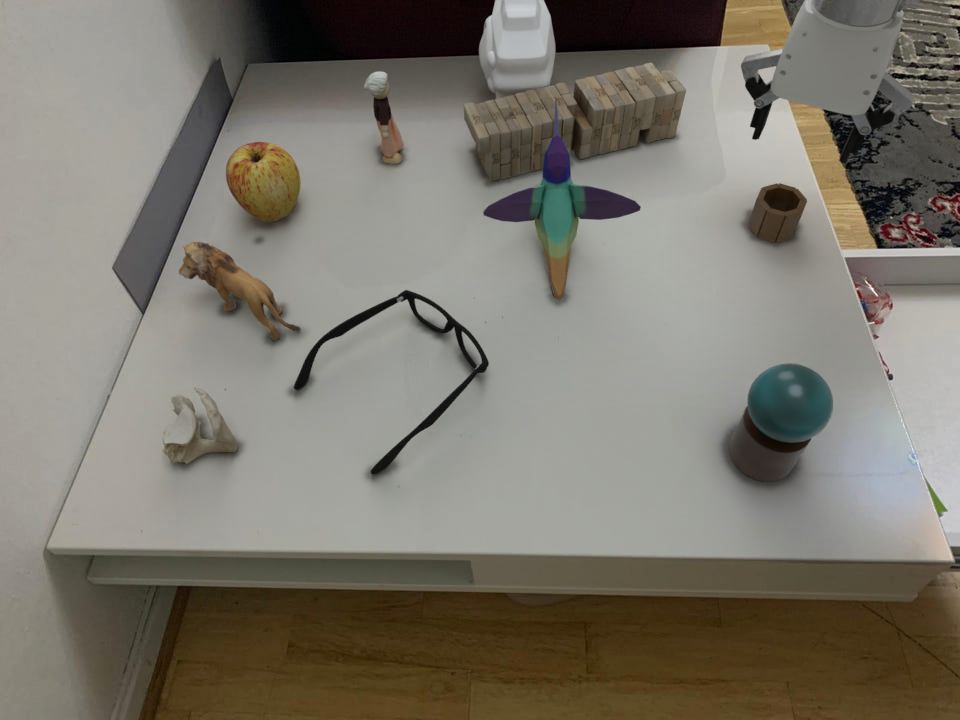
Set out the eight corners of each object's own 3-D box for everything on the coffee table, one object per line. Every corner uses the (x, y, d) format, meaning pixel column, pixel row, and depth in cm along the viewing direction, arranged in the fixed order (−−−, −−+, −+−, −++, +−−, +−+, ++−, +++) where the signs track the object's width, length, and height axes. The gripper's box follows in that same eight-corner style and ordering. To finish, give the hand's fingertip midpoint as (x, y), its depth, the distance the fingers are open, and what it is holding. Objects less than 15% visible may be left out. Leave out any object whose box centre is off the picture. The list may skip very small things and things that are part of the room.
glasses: (505, 387, 81) (506, 360, 77) (378, 483, 74) (372, 458, 70) (413, 305, 88) (409, 277, 84) (290, 385, 81) (279, 358, 77)
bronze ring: (799, 218, 92) (810, 191, 89) (788, 247, 90) (799, 220, 86) (755, 206, 94) (765, 179, 91) (743, 233, 91) (752, 207, 88)
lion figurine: (193, 307, 89) (163, 256, 82) (220, 278, 92) (194, 226, 84) (289, 348, 84) (266, 298, 77) (315, 316, 87) (296, 265, 80)
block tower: (651, 111, 108) (464, 151, 104) (662, 59, 101) (461, 98, 97) (675, 143, 104) (480, 185, 99) (687, 90, 97) (479, 133, 92)
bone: (135, 442, 76) (145, 367, 71) (188, 422, 81) (202, 351, 76) (185, 492, 73) (199, 418, 68) (237, 468, 78) (254, 397, 73)
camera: (550, 62, 115) (553, -42, 102) (557, 133, 105) (561, 28, 92) (481, 65, 116) (476, -38, 103) (481, 136, 105) (474, 32, 92)
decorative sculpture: (615, 193, 97) (628, 95, 85) (631, 298, 86) (648, 203, 74) (488, 197, 98) (483, 100, 86) (487, 302, 87) (481, 208, 75)
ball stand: (806, 439, 74) (853, 365, 64) (788, 497, 71) (835, 429, 60) (736, 412, 76) (770, 336, 66) (715, 467, 73) (748, 397, 62)
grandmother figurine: (412, 164, 103) (399, 84, 92) (386, 171, 102) (370, 92, 92) (395, 133, 107) (381, 53, 97) (370, 140, 106) (354, 61, 96)
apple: (286, 179, 102) (265, 118, 94) (321, 210, 98) (303, 150, 90) (230, 210, 99) (203, 150, 91) (264, 244, 95) (239, 184, 87)
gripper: (963, -6, 67) (887, 145, 81) (776, -41, 72) (734, 106, 86) (951, 36, 64) (873, 186, 78) (755, -4, 69) (715, 143, 83)
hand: (800, 144), depth 82 cm, fingers open, 9 cm apart
